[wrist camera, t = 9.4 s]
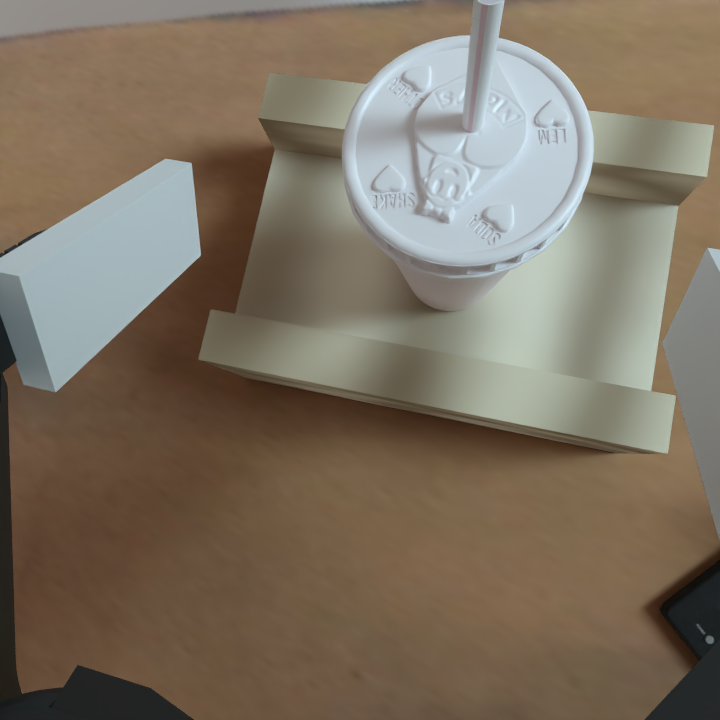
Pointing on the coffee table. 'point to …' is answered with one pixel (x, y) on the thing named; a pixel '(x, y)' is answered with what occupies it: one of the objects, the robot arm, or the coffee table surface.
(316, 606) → the coffee table surface
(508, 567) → the coffee table surface
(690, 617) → the handheld gaming console
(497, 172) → the smoothie
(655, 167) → the tray
